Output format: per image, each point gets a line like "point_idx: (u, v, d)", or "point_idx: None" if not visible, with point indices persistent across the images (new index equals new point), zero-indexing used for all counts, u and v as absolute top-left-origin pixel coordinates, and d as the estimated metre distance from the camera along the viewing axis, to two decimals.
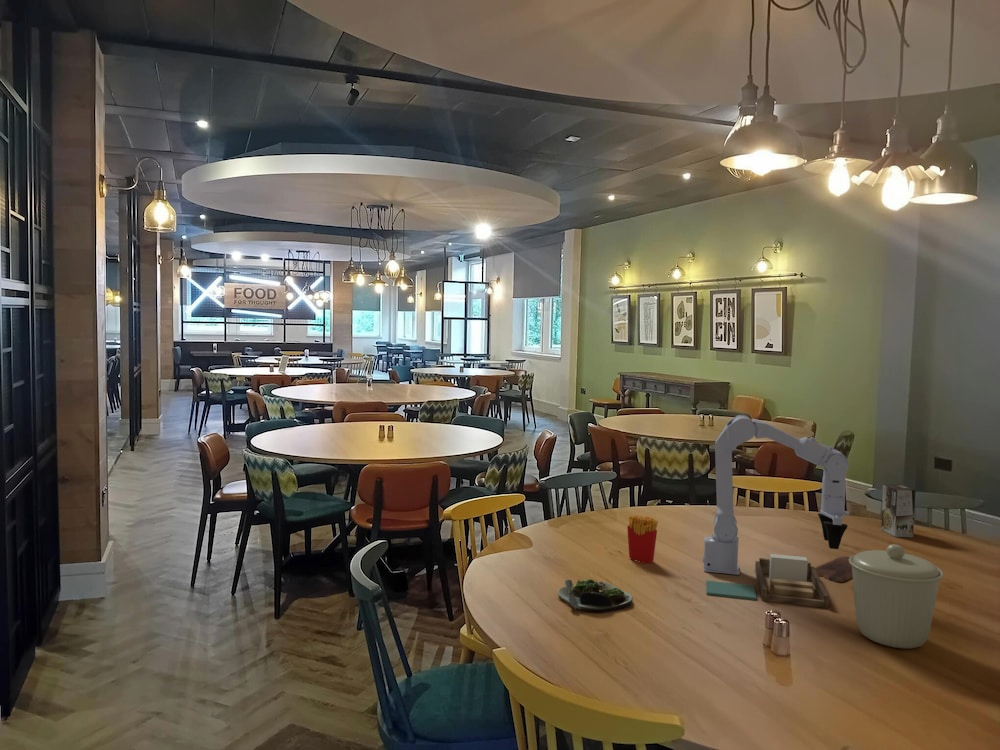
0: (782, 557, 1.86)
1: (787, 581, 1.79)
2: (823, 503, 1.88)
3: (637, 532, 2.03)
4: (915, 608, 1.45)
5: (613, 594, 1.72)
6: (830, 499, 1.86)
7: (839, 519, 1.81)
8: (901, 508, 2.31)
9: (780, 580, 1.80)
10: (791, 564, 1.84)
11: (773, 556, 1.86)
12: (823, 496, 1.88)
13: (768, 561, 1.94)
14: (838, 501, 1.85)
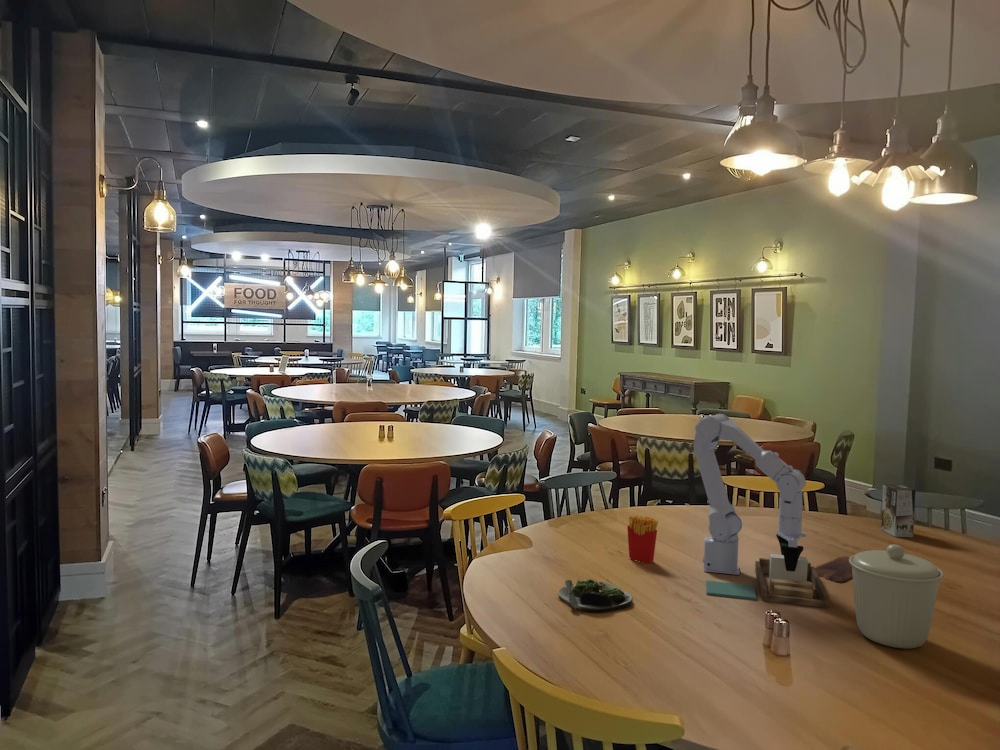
0: (782, 557, 1.86)
1: (787, 581, 1.79)
2: (780, 524, 1.85)
3: (637, 532, 2.03)
4: (916, 608, 1.45)
5: (613, 594, 1.72)
6: (786, 520, 1.83)
7: (794, 541, 1.78)
8: (901, 508, 2.31)
9: (780, 580, 1.80)
10: None
11: (773, 556, 1.86)
12: (780, 517, 1.85)
13: (768, 561, 1.94)
14: (794, 522, 1.82)
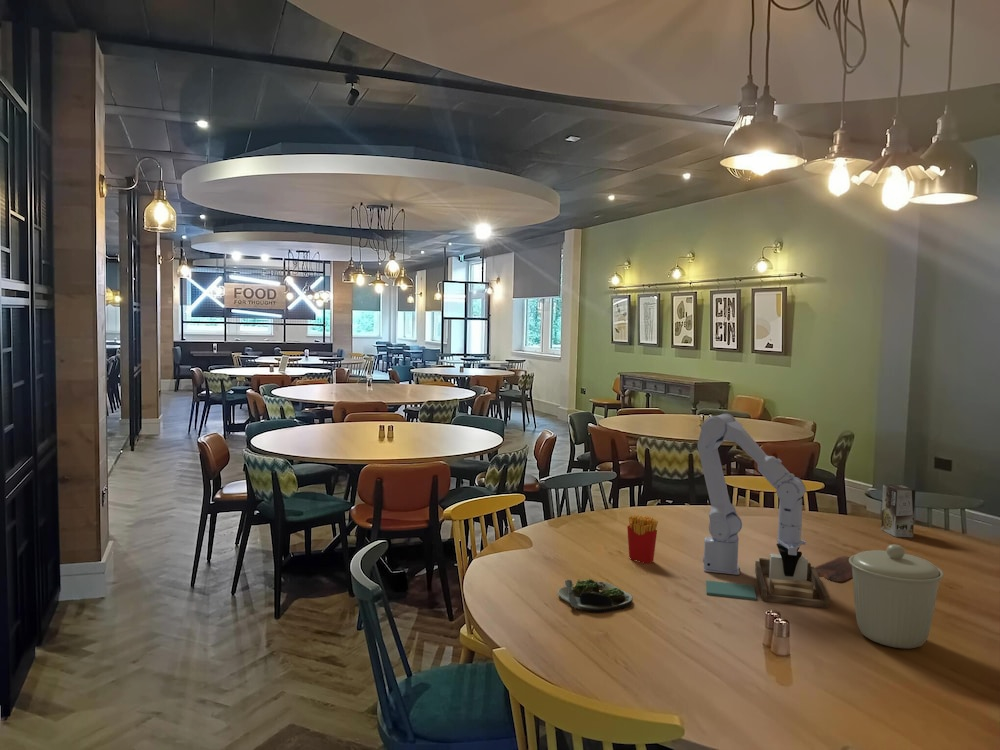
0: None
1: (787, 581, 1.79)
2: (779, 532, 1.85)
3: (637, 532, 2.03)
4: (915, 608, 1.45)
5: (613, 594, 1.72)
6: (786, 528, 1.83)
7: (794, 549, 1.78)
8: (901, 508, 2.31)
9: (780, 580, 1.80)
10: None
11: (773, 556, 1.86)
12: (779, 525, 1.85)
13: (768, 561, 1.94)
14: (794, 530, 1.82)
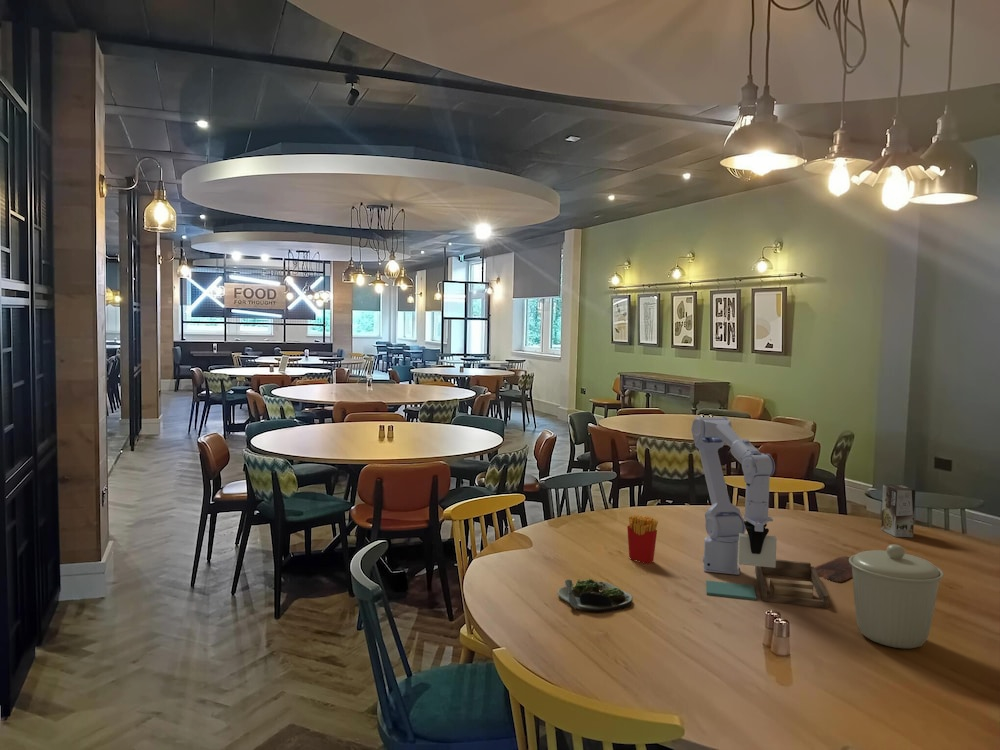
0: None
1: (787, 581, 1.79)
2: (746, 509, 1.81)
3: (637, 532, 2.03)
4: (915, 608, 1.45)
5: (613, 594, 1.72)
6: (753, 505, 1.79)
7: (760, 525, 1.75)
8: (901, 508, 2.31)
9: (780, 580, 1.80)
10: None
11: (742, 535, 1.82)
12: (746, 501, 1.81)
13: None
14: (761, 507, 1.79)
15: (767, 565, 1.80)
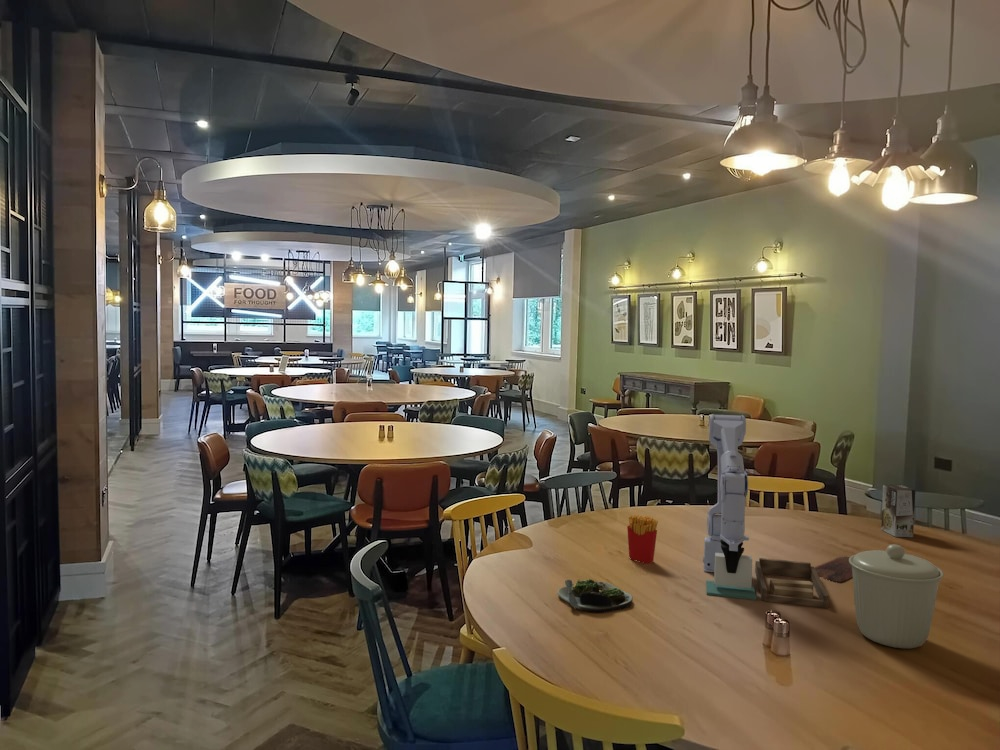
0: None
1: (787, 581, 1.79)
2: (722, 527, 1.79)
3: (637, 532, 2.03)
4: (915, 608, 1.45)
5: (613, 594, 1.72)
6: (728, 523, 1.77)
7: (735, 545, 1.73)
8: (901, 508, 2.31)
9: (780, 580, 1.79)
10: None
11: (718, 555, 1.80)
12: (722, 520, 1.79)
13: (768, 561, 1.94)
14: (736, 525, 1.77)
15: (743, 585, 1.78)
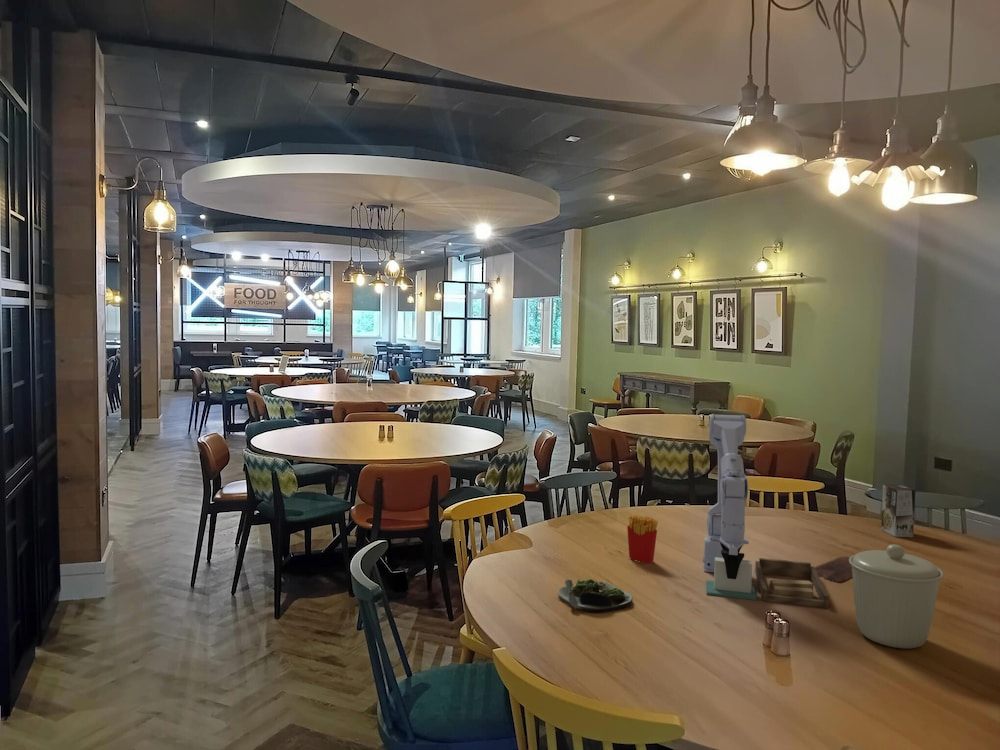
0: None
1: (787, 581, 1.79)
2: (722, 531, 1.79)
3: (637, 532, 2.03)
4: (916, 608, 1.45)
5: (613, 594, 1.72)
6: (728, 527, 1.78)
7: (735, 549, 1.73)
8: (901, 508, 2.31)
9: (780, 581, 1.79)
10: None
11: (717, 559, 1.81)
12: (722, 524, 1.79)
13: (768, 561, 1.94)
14: (736, 529, 1.77)
15: (742, 590, 1.78)
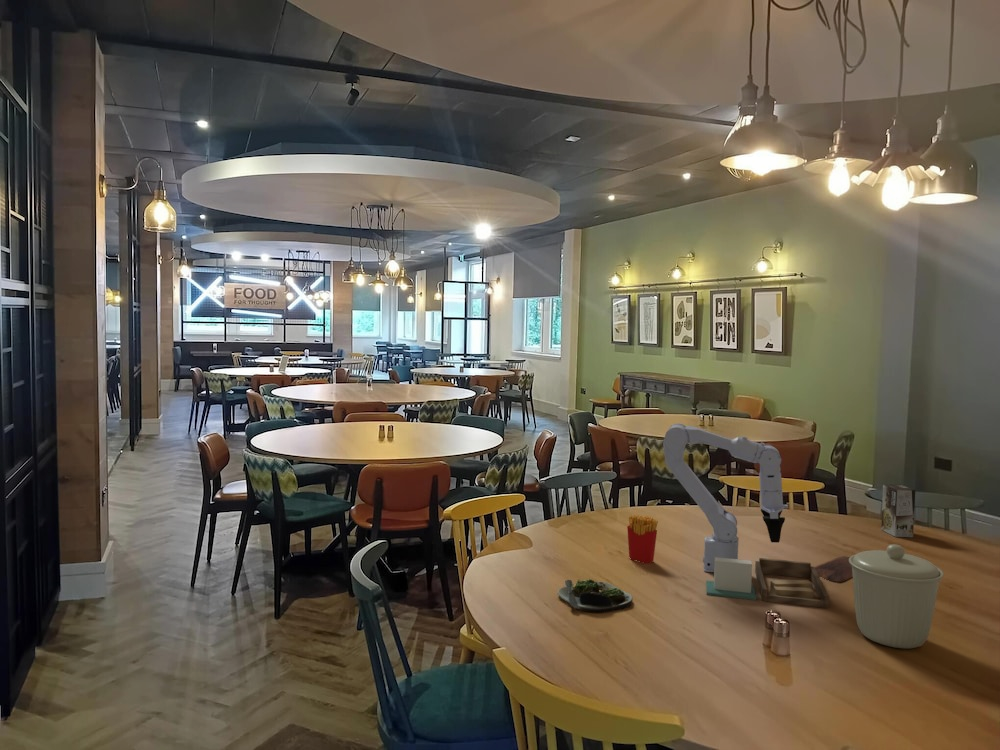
0: (726, 560, 1.80)
1: (787, 581, 1.79)
2: (761, 498, 1.92)
3: (637, 532, 2.03)
4: (916, 608, 1.45)
5: (613, 594, 1.72)
6: (767, 494, 1.90)
7: (775, 513, 1.85)
8: (901, 508, 2.31)
9: (780, 581, 1.79)
10: (736, 568, 1.79)
11: (717, 559, 1.81)
12: (761, 491, 1.92)
13: (768, 561, 1.94)
14: (775, 495, 1.89)
15: (742, 590, 1.78)
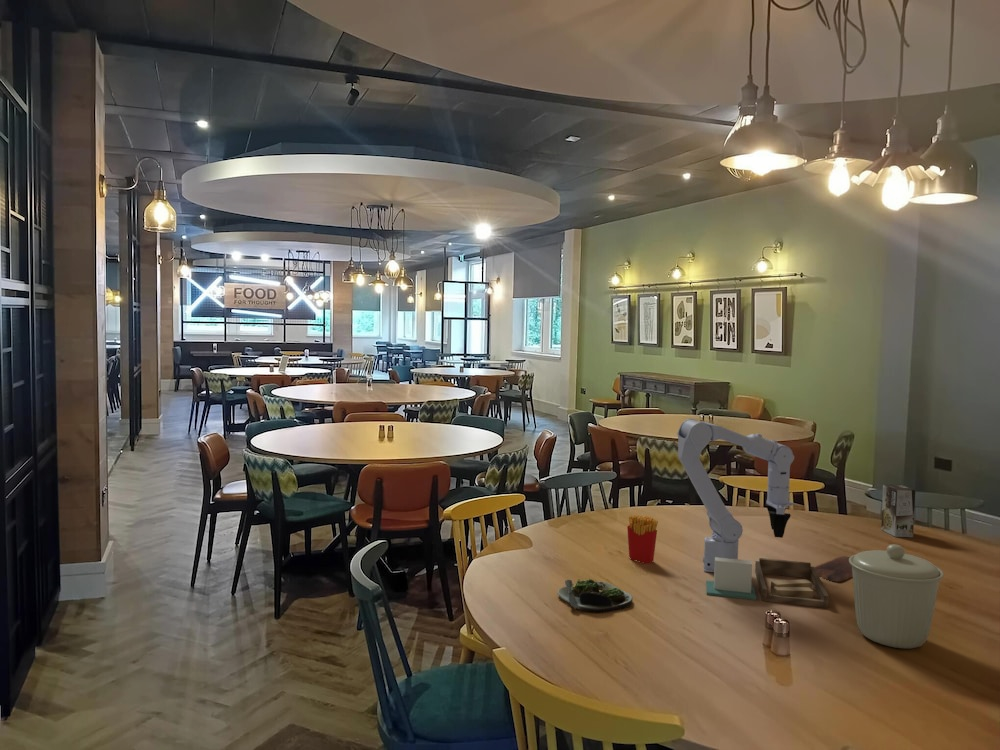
0: (726, 560, 1.80)
1: (787, 581, 1.79)
2: (768, 494, 1.97)
3: (637, 532, 2.03)
4: (916, 608, 1.45)
5: (613, 594, 1.72)
6: (775, 490, 1.95)
7: (782, 509, 1.90)
8: (901, 508, 2.31)
9: (781, 581, 1.79)
10: (736, 568, 1.79)
11: (717, 559, 1.81)
12: (768, 487, 1.97)
13: (768, 561, 1.94)
14: (782, 492, 1.94)
15: (742, 590, 1.78)
